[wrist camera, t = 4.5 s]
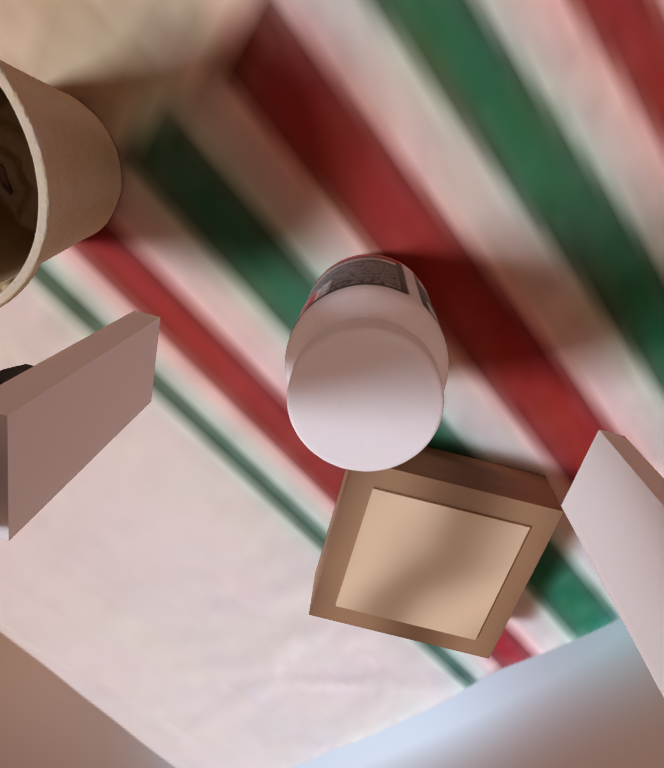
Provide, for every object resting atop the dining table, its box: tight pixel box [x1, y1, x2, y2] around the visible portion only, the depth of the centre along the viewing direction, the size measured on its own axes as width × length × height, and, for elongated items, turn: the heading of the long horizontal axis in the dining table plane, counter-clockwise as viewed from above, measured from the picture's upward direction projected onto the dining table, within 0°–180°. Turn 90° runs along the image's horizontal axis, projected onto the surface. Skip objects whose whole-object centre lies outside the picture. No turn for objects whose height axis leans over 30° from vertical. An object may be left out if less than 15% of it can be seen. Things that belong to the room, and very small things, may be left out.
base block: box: [309, 446, 564, 658], centre depth 27 cm, size 10×10×3 cm
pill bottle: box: [285, 254, 449, 472], centre depth 20 cm, size 6×6×10 cm
